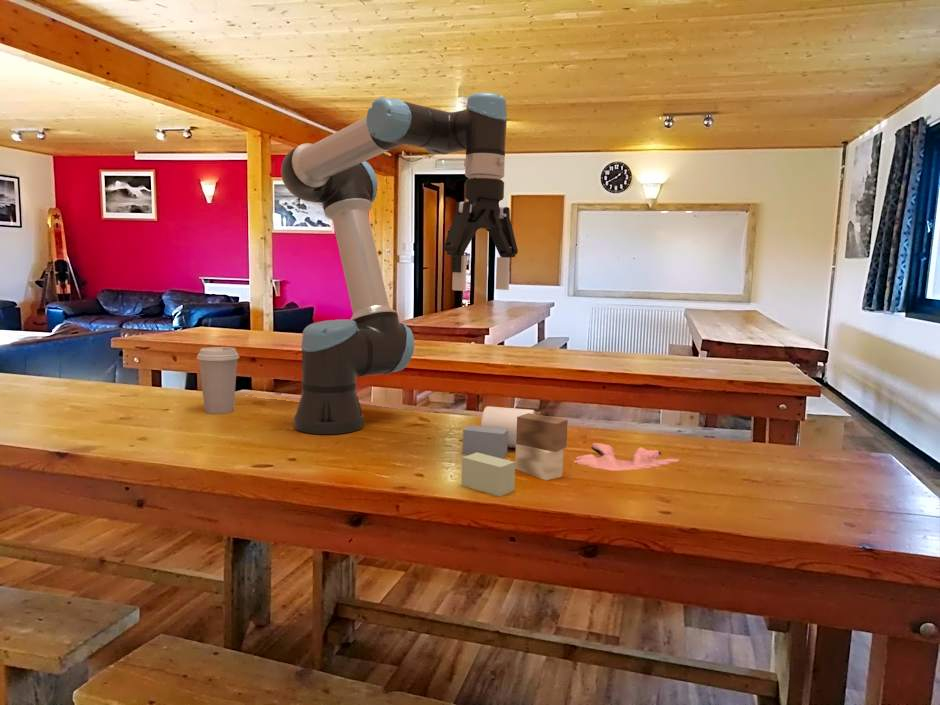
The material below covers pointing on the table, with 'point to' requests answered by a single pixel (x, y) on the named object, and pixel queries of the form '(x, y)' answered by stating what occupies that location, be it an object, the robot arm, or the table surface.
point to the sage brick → (488, 474)
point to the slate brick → (485, 441)
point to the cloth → (609, 461)
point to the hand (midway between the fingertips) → (481, 290)
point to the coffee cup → (218, 378)
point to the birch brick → (539, 462)
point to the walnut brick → (541, 432)
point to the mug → (504, 420)
